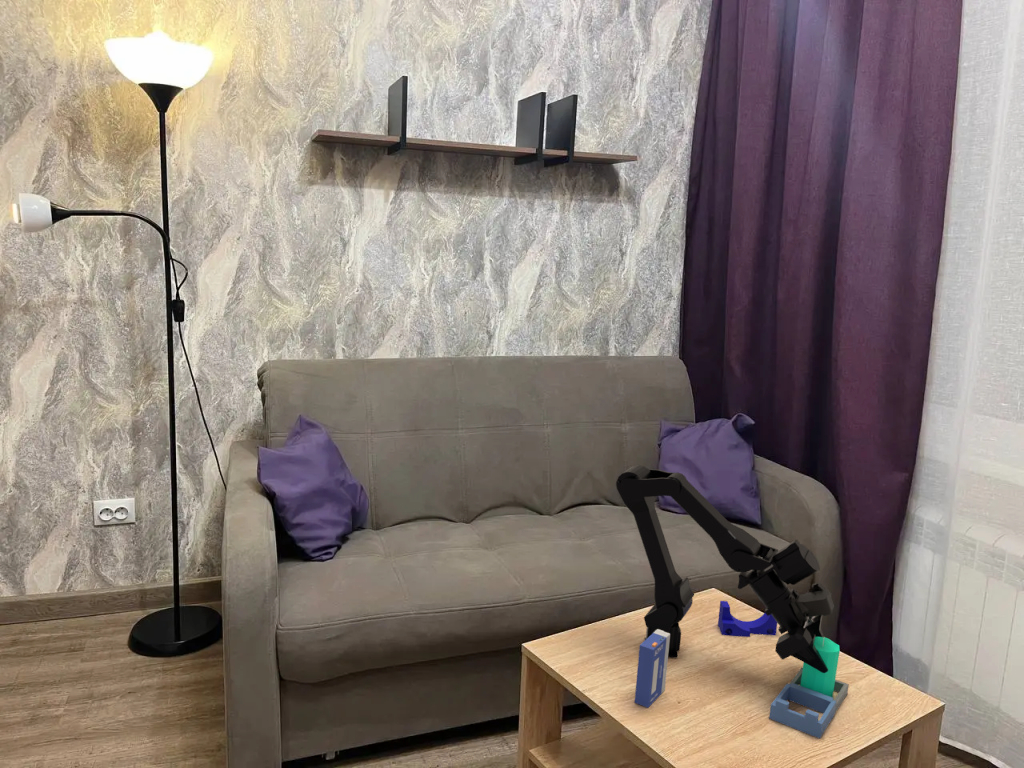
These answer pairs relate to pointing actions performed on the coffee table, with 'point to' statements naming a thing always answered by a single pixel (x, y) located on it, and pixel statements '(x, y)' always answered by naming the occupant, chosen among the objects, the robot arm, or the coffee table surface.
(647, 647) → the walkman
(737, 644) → the coffee table surface
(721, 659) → the coffee table surface
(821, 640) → the candle
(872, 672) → the coffee table surface
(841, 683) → the frame
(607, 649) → the coffee table surface
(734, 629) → the cable clip
